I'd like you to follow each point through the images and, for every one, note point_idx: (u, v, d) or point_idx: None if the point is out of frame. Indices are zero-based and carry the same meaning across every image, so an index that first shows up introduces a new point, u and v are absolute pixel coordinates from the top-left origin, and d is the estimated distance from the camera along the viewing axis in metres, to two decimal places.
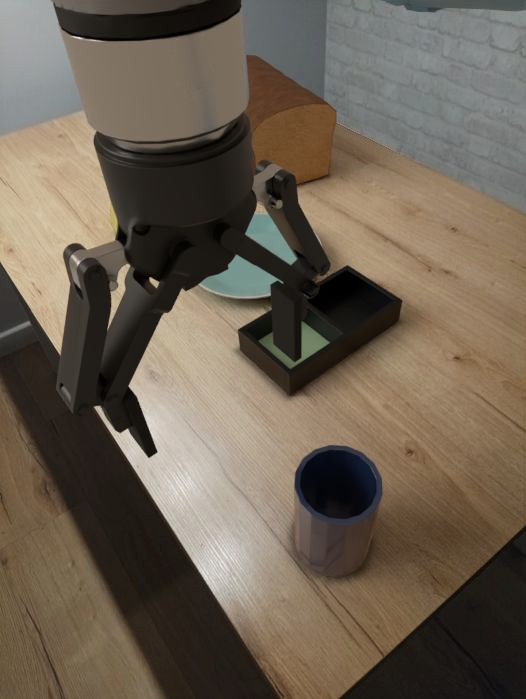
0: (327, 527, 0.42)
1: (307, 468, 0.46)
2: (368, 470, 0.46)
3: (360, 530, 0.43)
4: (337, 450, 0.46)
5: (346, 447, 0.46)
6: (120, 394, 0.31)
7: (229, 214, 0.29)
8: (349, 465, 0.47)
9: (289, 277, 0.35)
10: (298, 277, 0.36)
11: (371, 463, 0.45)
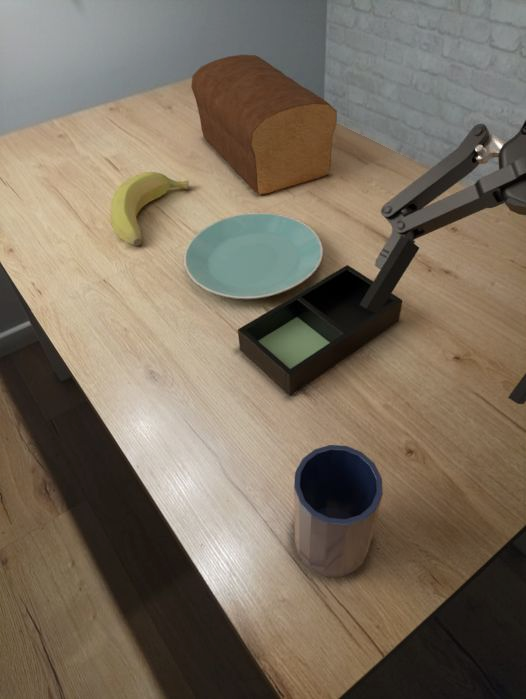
0: (327, 527, 0.42)
1: (307, 468, 0.46)
2: (368, 470, 0.46)
3: (360, 530, 0.43)
4: (337, 450, 0.46)
5: (346, 447, 0.46)
6: (406, 227, 0.42)
7: None
8: (349, 465, 0.47)
9: None
10: None
11: (371, 463, 0.45)
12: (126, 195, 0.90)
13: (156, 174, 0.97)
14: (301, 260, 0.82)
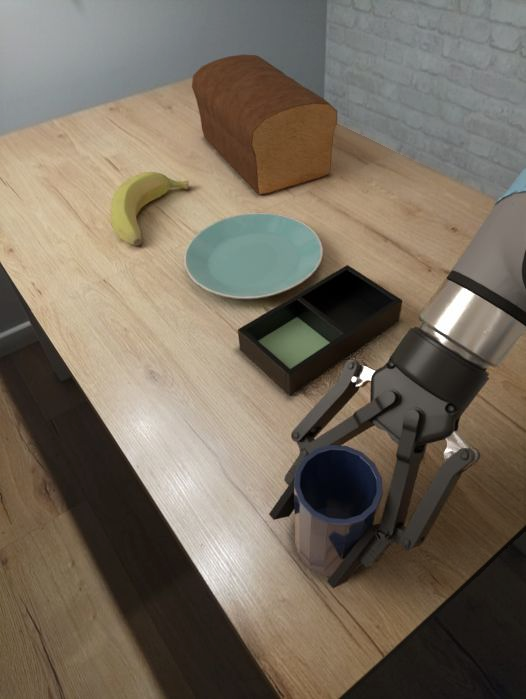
0: (327, 527, 0.42)
1: (307, 468, 0.46)
2: (368, 470, 0.46)
3: (360, 530, 0.43)
4: (337, 450, 0.46)
5: (346, 447, 0.46)
6: None
7: (428, 414, 0.42)
8: (349, 465, 0.47)
9: (391, 505, 0.43)
10: (392, 516, 0.43)
11: (371, 463, 0.45)
12: (126, 195, 0.90)
13: (156, 174, 0.97)
14: (301, 260, 0.82)
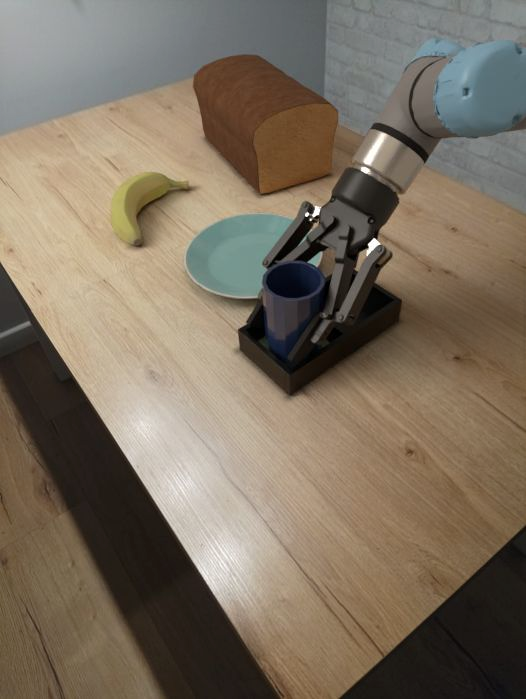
0: (284, 305, 0.59)
1: (272, 277, 0.63)
2: (316, 276, 0.63)
3: (308, 311, 0.60)
4: (294, 263, 0.63)
5: (301, 261, 0.63)
6: None
7: (356, 227, 0.60)
8: (304, 278, 0.65)
9: (331, 294, 0.60)
10: (331, 302, 0.60)
11: (318, 269, 0.62)
12: (126, 195, 0.90)
13: (156, 174, 0.97)
14: None
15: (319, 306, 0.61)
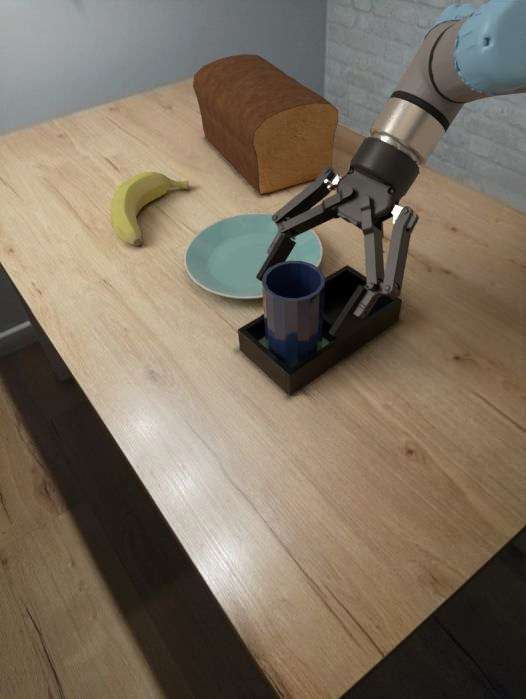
0: (284, 305, 0.59)
1: (272, 277, 0.63)
2: (316, 276, 0.63)
3: (308, 311, 0.60)
4: (294, 263, 0.63)
5: (301, 261, 0.63)
6: (284, 228, 0.66)
7: (375, 198, 0.59)
8: (304, 278, 0.65)
9: (369, 265, 0.58)
10: (373, 272, 0.58)
11: (318, 269, 0.62)
12: (126, 195, 0.90)
13: (156, 174, 0.97)
14: (301, 260, 0.82)
15: (319, 306, 0.61)
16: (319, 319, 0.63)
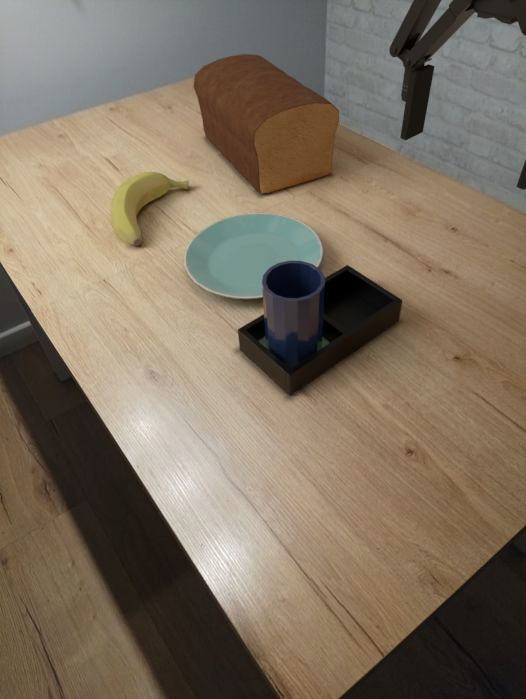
0: (284, 305, 0.59)
1: (272, 277, 0.63)
2: (316, 276, 0.63)
3: (308, 311, 0.60)
4: (294, 263, 0.63)
5: (301, 261, 0.63)
6: (411, 62, 0.49)
7: None
8: (304, 278, 0.65)
9: None
10: None
11: (318, 269, 0.62)
12: (126, 195, 0.90)
13: (156, 174, 0.97)
14: (301, 260, 0.82)
15: (319, 306, 0.61)
16: (319, 319, 0.63)
